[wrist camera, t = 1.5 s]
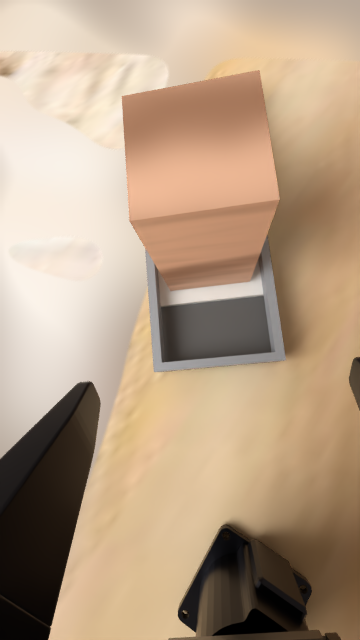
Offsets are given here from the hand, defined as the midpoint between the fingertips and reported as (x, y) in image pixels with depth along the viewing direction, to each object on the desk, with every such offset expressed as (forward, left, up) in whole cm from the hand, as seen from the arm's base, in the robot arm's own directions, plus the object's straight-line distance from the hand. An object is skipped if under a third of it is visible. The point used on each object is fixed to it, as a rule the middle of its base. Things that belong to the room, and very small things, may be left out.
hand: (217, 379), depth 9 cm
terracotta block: (+8, +5, -13) cm, 16 cm away
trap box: (+10, +6, -13) cm, 18 cm away
